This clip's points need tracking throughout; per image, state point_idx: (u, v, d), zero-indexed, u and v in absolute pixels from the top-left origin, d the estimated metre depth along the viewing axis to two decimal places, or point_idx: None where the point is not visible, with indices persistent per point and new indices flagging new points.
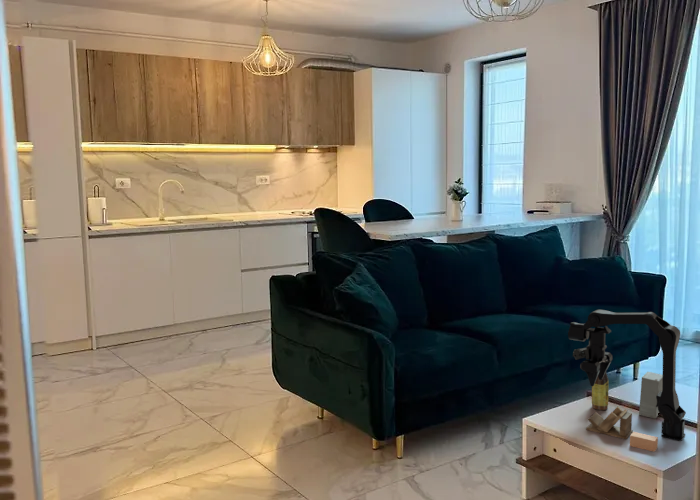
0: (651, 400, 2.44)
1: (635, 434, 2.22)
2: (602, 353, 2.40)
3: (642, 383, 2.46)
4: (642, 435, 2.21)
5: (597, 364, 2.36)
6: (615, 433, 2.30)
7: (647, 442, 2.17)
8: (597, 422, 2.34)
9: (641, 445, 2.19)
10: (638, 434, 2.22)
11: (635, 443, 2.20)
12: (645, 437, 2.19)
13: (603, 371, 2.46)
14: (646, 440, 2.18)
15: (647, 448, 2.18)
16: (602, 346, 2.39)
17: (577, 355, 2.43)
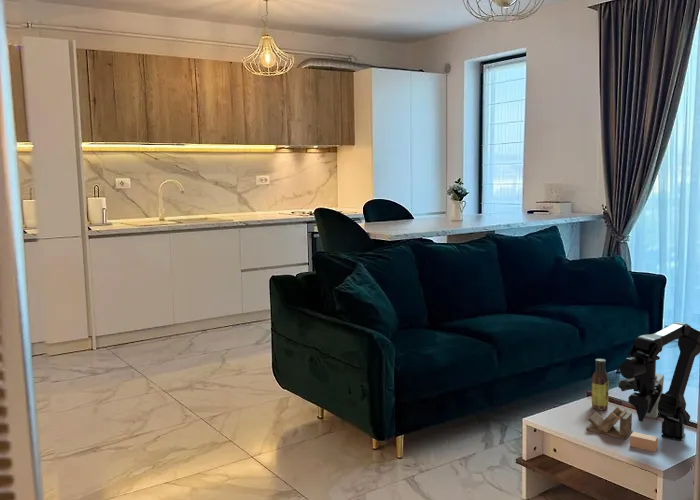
0: None
1: (635, 434, 2.21)
2: (652, 385, 2.15)
3: None
4: (641, 435, 2.21)
5: (648, 398, 2.11)
6: (615, 433, 2.30)
7: (647, 442, 2.18)
8: (597, 422, 2.34)
9: (641, 445, 2.19)
10: (638, 434, 2.22)
11: (635, 443, 2.20)
12: (645, 437, 2.19)
13: (652, 404, 2.22)
14: (646, 440, 2.18)
15: (647, 448, 2.18)
16: (652, 377, 2.15)
17: (624, 386, 2.18)
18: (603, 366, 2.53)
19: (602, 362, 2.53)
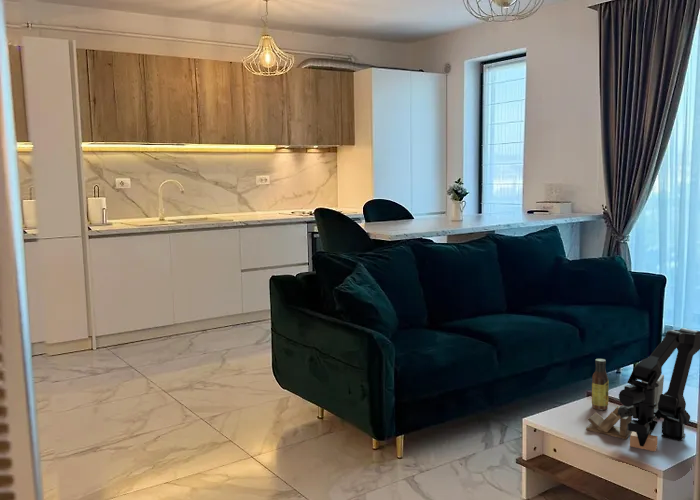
0: None
1: (635, 434, 2.21)
2: (651, 412, 2.16)
3: None
4: None
5: (647, 426, 2.12)
6: (615, 433, 2.30)
7: (648, 441, 2.17)
8: (597, 422, 2.34)
9: None
10: None
11: (635, 442, 2.20)
12: None
13: (649, 432, 2.21)
14: None
15: (647, 447, 2.18)
16: (651, 404, 2.16)
17: (623, 413, 2.19)
18: (603, 366, 2.53)
19: (602, 362, 2.53)
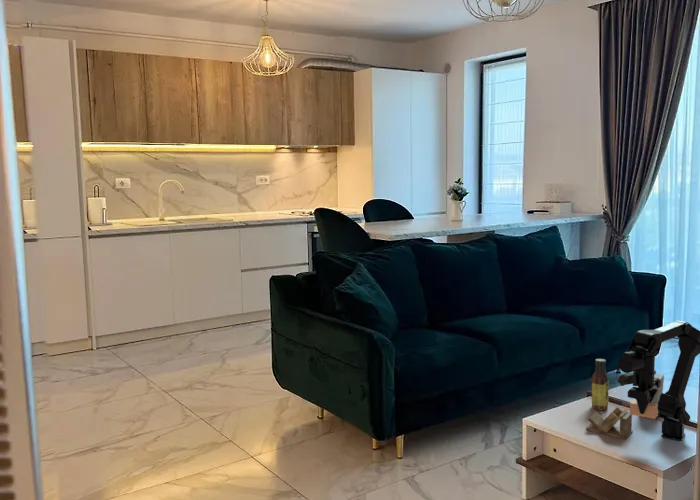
0: None
1: (635, 402, 2.20)
2: (651, 379, 2.15)
3: None
4: None
5: (647, 392, 2.11)
6: (615, 433, 2.30)
7: (648, 408, 2.17)
8: (597, 422, 2.34)
9: None
10: None
11: (635, 410, 2.19)
12: None
13: (649, 400, 2.20)
14: None
15: (648, 415, 2.17)
16: (652, 372, 2.15)
17: (623, 381, 2.18)
18: (603, 366, 2.53)
19: (602, 362, 2.53)
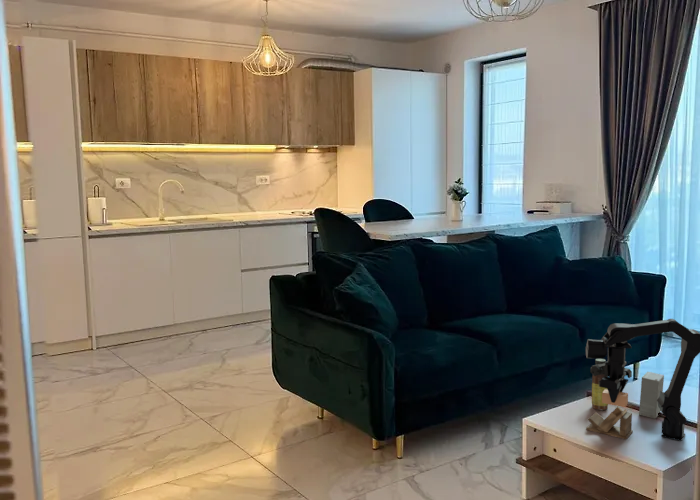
0: (651, 400, 2.44)
1: (606, 391, 2.32)
2: (622, 370, 2.27)
3: (642, 383, 2.46)
4: None
5: (617, 382, 2.23)
6: (615, 433, 2.30)
7: (618, 397, 2.29)
8: (597, 422, 2.34)
9: None
10: None
11: (607, 399, 2.31)
12: None
13: (620, 390, 2.32)
14: (617, 396, 2.29)
15: (618, 403, 2.29)
16: (622, 362, 2.27)
17: (595, 371, 2.30)
18: None
19: (602, 362, 2.53)
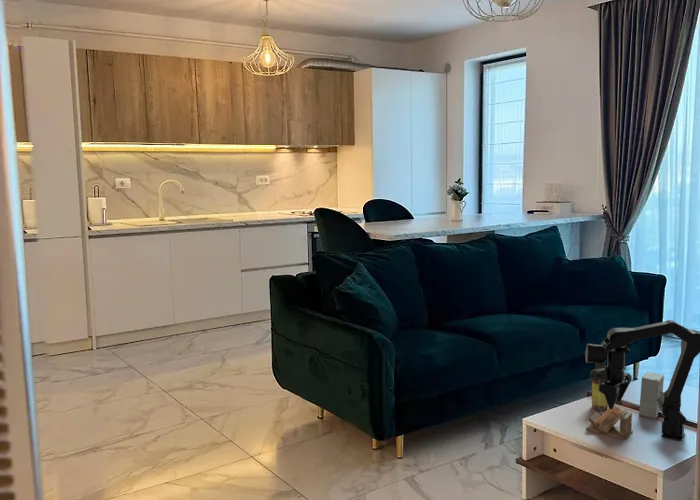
0: (651, 400, 2.44)
1: None
2: (621, 374, 2.28)
3: (642, 383, 2.46)
4: None
5: (616, 386, 2.23)
6: (615, 433, 2.30)
7: (607, 413, 2.31)
8: None
9: None
10: None
11: None
12: (605, 412, 2.33)
13: (622, 393, 2.34)
14: (606, 413, 2.32)
15: None
16: (621, 367, 2.27)
17: (595, 376, 2.31)
18: (603, 366, 2.53)
19: None
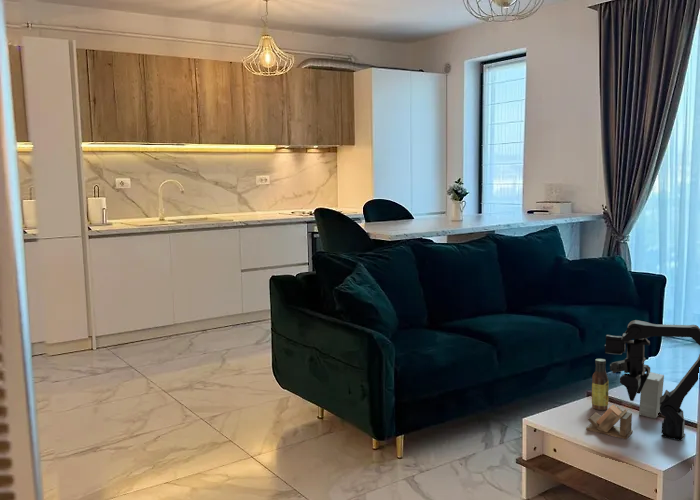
0: (651, 400, 2.44)
1: None
2: (641, 366, 2.29)
3: None
4: None
5: (638, 378, 2.24)
6: (615, 433, 2.30)
7: (607, 413, 2.31)
8: None
9: None
10: None
11: None
12: (605, 412, 2.33)
13: (641, 384, 2.35)
14: (606, 413, 2.32)
15: None
16: (641, 359, 2.28)
17: (615, 368, 2.32)
18: (603, 366, 2.53)
19: (602, 362, 2.53)
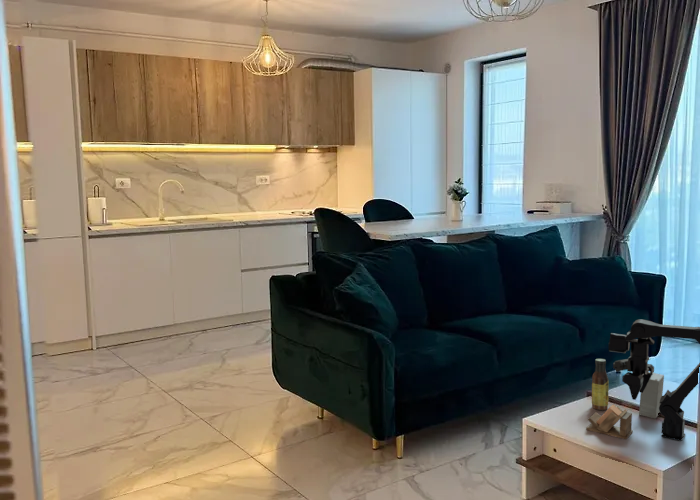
0: (651, 400, 2.44)
1: None
2: (645, 365, 2.29)
3: None
4: None
5: (640, 377, 2.25)
6: (615, 433, 2.30)
7: (607, 413, 2.31)
8: None
9: None
10: None
11: None
12: (605, 412, 2.33)
13: (644, 384, 2.35)
14: (606, 413, 2.32)
15: None
16: (645, 358, 2.29)
17: (618, 367, 2.32)
18: (603, 366, 2.53)
19: (602, 362, 2.53)
